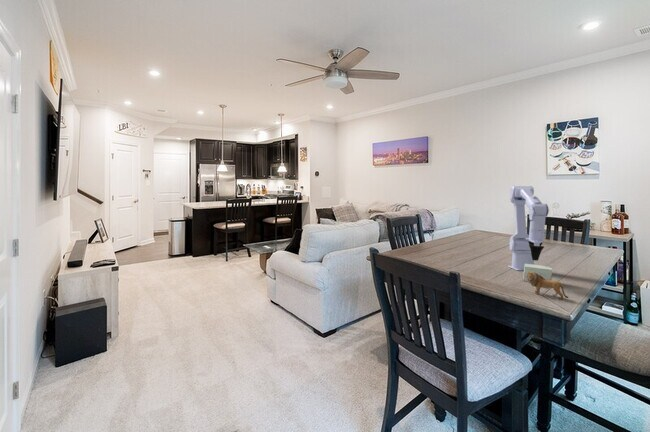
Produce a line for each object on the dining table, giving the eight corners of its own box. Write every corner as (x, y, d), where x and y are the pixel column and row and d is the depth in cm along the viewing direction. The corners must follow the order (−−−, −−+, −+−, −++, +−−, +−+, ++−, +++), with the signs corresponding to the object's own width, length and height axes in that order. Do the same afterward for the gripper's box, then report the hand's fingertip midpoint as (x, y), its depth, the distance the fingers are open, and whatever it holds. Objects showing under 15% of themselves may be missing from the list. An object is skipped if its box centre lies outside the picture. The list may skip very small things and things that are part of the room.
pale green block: (523, 281, 146) (524, 266, 145) (523, 276, 152) (524, 263, 151) (551, 284, 140) (552, 270, 140) (549, 280, 147) (550, 266, 146)
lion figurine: (524, 293, 131) (525, 272, 129) (525, 289, 135) (526, 269, 134) (568, 301, 122) (570, 279, 121) (568, 297, 126) (570, 275, 125)
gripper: (526, 227, 153) (524, 254, 155) (527, 231, 141) (525, 260, 142) (543, 228, 149) (541, 255, 151) (546, 232, 137) (543, 262, 139)
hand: (534, 258), depth 146 cm, fingers open, 7 cm apart
